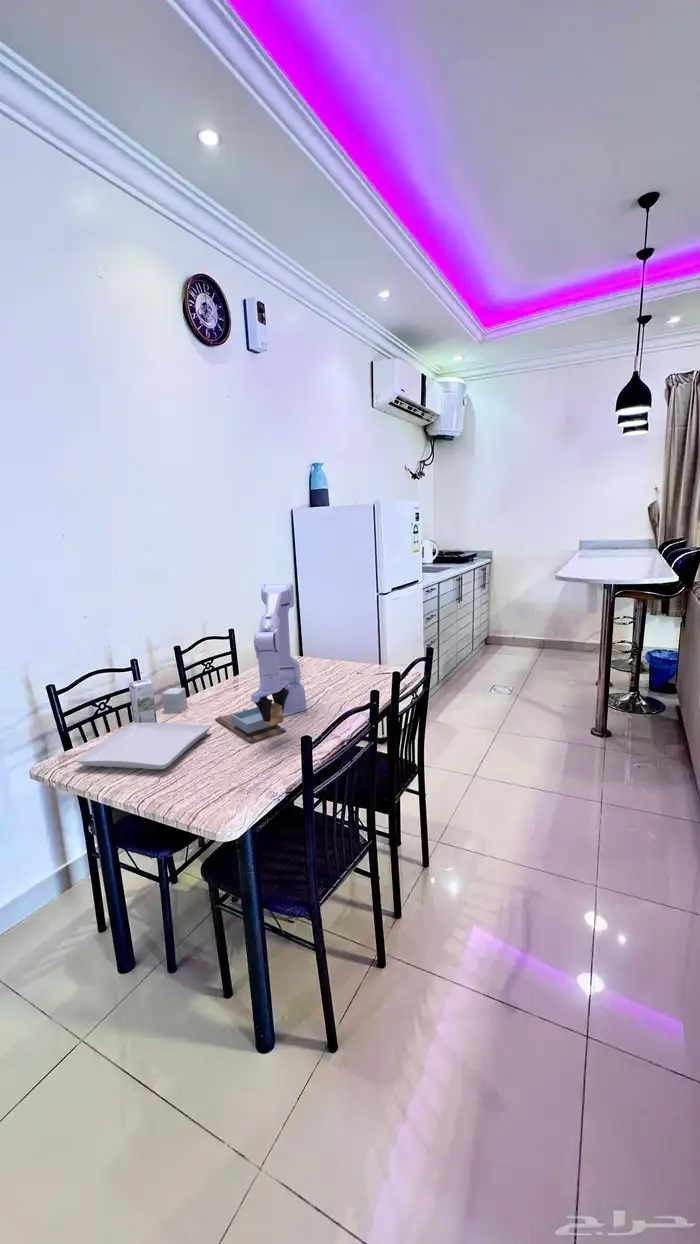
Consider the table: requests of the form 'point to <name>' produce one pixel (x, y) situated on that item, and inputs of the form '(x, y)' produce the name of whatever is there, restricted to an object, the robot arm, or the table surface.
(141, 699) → the syrup box
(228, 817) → the table surface
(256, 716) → the blue storage tray
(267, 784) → the table surface
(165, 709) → the product box
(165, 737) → the square plate
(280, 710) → the part block
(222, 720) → the rail board
